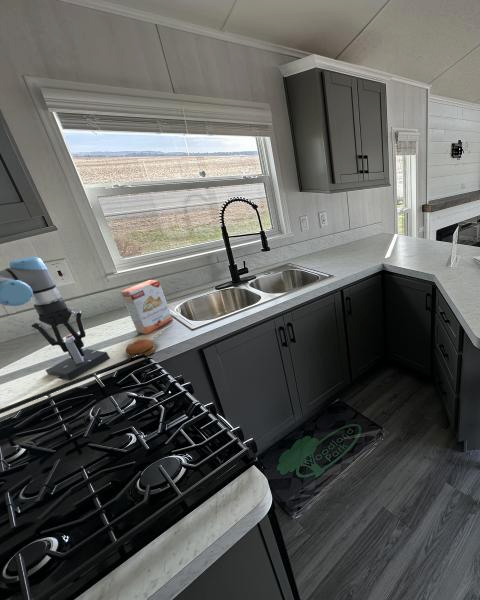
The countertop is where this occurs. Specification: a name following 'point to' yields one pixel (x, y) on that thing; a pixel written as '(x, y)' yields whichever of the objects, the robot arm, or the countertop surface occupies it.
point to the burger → (140, 347)
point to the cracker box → (147, 306)
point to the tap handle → (73, 349)
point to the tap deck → (78, 365)
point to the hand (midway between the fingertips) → (78, 356)
